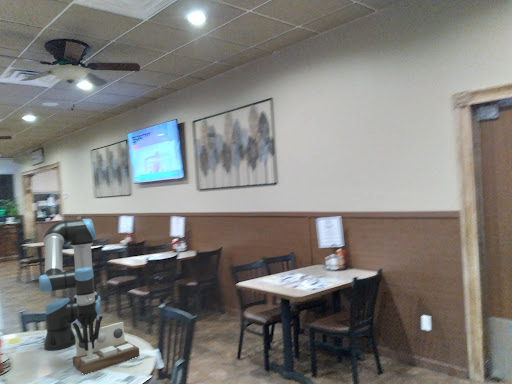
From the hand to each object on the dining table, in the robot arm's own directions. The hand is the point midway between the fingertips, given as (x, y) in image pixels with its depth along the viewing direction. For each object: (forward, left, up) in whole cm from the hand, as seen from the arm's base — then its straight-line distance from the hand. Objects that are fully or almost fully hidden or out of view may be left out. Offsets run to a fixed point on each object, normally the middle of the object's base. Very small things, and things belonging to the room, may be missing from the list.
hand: (90, 356), depth 180 cm
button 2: (0, +16, -3) cm, 16 cm away
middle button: (0, +8, -2) cm, 8 cm away
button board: (-3, +8, -5) cm, 10 cm away
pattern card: (-8, +8, -1) cm, 11 cm away
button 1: (0, 0, -3) cm, 3 cm away
